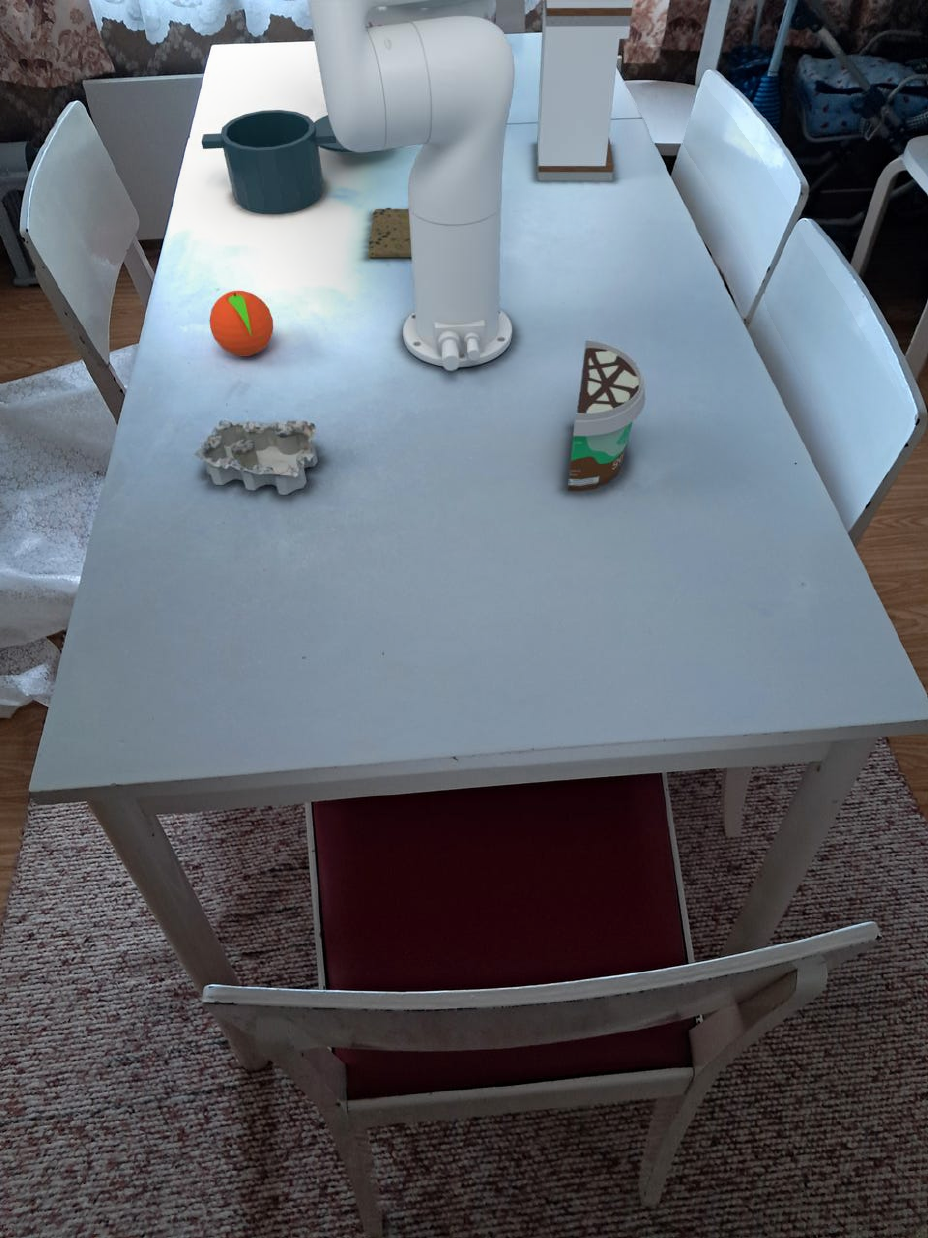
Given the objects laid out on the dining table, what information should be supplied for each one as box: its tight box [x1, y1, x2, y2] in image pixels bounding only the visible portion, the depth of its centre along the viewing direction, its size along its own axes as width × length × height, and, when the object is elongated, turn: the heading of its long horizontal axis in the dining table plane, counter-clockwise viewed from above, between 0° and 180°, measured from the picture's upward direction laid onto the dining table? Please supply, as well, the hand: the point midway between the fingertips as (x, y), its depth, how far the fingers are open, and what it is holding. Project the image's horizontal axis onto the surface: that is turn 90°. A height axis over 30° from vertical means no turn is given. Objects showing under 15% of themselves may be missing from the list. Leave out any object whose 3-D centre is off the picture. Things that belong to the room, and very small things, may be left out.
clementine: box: [208, 290, 274, 357], centre depth 97 cm, size 8×7×7 cm
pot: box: [201, 109, 336, 215], centre depth 120 cm, size 13×18×8 cm
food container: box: [567, 339, 646, 492], centre depth 83 cm, size 12×6×10 cm, turn 171°
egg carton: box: [194, 419, 318, 496], centre depth 85 cm, size 11×8×4 cm
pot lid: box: [313, 114, 357, 154], centre depth 127 cm, size 14×14×7 cm
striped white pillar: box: [536, 0, 634, 182], centre depth 115 cm, size 11×11×35 cm
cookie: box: [367, 207, 412, 258], centre depth 115 cm, size 12×12×1 cm
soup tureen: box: [365, 0, 497, 28], centre depth 139 cm, size 28×28×21 cm
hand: (353, 122), depth 128 cm, fingers closed on pot lid, 2 cm apart
